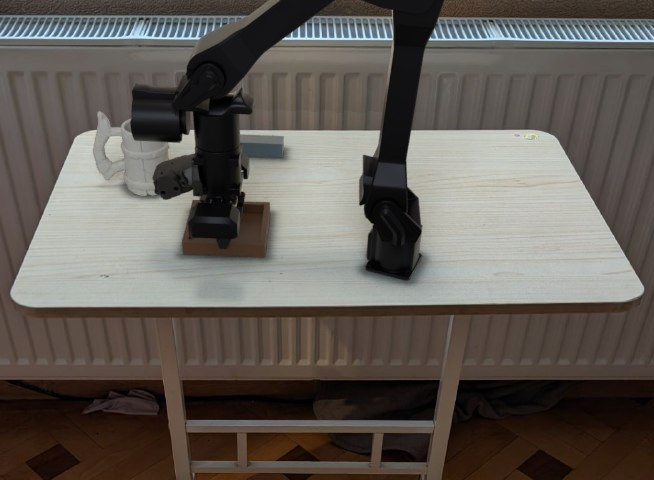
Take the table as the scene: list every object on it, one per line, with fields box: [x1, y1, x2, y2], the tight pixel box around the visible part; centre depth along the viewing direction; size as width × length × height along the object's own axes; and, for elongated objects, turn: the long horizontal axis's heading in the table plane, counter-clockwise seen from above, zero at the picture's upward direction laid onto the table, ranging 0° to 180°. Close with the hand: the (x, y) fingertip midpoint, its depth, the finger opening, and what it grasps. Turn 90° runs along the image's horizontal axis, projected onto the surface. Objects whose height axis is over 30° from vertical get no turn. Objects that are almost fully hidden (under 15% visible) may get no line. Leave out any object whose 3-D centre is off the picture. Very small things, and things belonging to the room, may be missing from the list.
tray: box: [181, 199, 271, 258], centre depth 121 cm, size 12×12×2 cm
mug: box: [92, 110, 170, 197], centre depth 127 cm, size 8×12×12 cm, turn 96°
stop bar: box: [240, 133, 285, 159], centre depth 139 cm, size 3×12×2 cm, turn 88°
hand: (223, 248), depth 116 cm, fingers closed
